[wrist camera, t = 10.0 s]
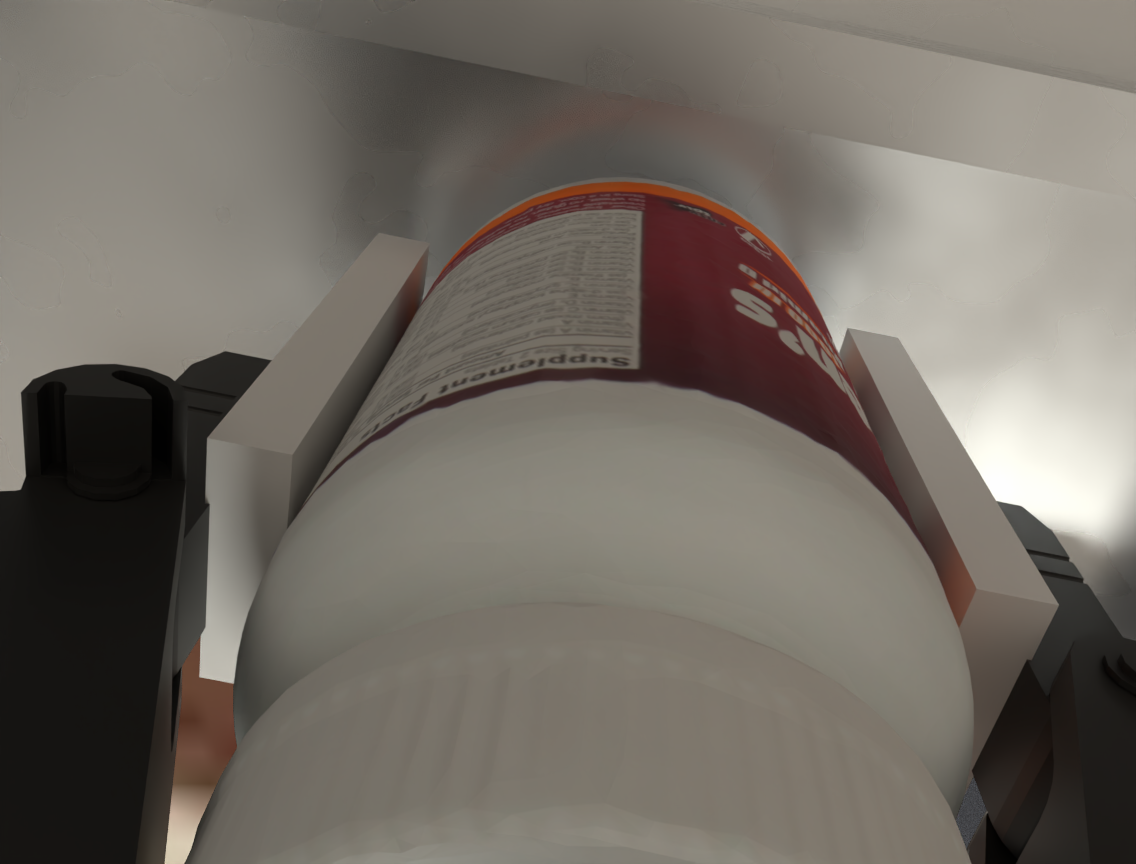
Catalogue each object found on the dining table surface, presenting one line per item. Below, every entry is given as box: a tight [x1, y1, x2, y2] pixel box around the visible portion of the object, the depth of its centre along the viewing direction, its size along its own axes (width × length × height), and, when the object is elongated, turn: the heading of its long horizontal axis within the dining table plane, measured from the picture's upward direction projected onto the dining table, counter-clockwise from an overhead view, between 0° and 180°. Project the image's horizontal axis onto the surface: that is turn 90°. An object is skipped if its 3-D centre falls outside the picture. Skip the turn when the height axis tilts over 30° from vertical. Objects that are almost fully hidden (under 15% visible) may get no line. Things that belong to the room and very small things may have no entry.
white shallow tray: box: [0, 0, 1136, 641], centre depth 16 cm, size 24×14×3 cm, turn 79°
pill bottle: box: [185, 177, 974, 864], centre depth 11 cm, size 6×6×11 cm
